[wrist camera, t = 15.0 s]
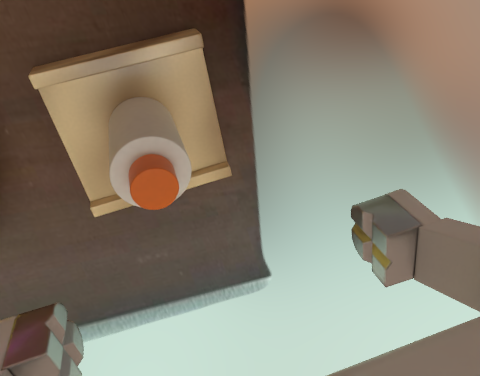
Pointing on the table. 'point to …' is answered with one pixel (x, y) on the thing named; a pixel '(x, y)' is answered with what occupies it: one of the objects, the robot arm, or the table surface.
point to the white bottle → (146, 154)
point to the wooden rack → (126, 87)
